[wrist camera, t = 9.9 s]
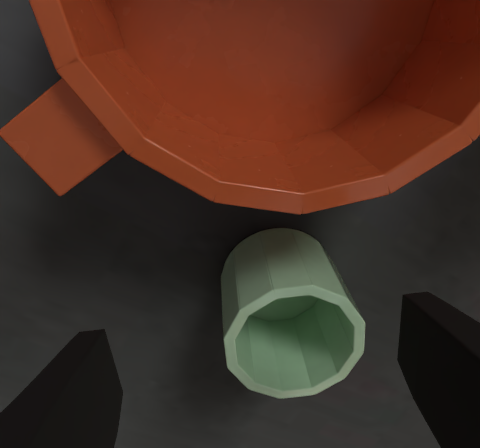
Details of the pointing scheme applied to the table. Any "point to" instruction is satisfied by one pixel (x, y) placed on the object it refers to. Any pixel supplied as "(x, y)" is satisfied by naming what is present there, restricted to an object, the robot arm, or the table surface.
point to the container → (287, 315)
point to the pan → (256, 95)
